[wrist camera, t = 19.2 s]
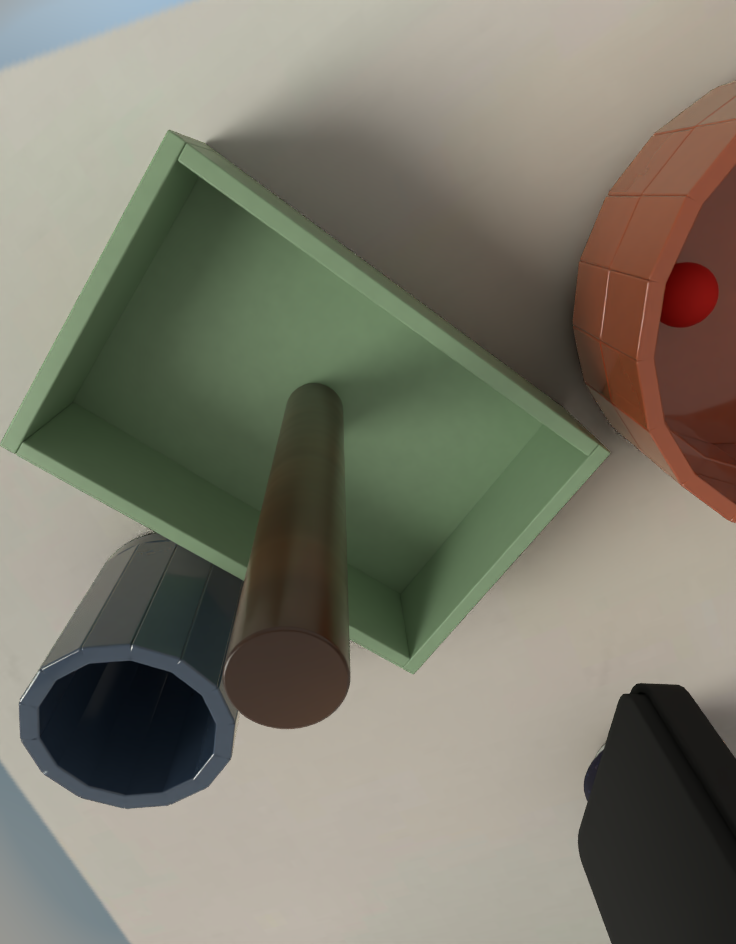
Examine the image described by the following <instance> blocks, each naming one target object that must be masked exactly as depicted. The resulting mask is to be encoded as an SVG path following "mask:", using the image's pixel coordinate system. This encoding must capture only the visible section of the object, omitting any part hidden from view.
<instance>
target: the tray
mask: <svg viewBox="0 0 736 944" xmlns="http://www.w3.org/2000/svg"><path fill="white" fill-rule="evenodd" d="M309 383H319V384H323V385H326V386H328V387H330V388H331V389H333V390H334V391H335V392H336V393H337V395H338V396H339V397H340V399H341V402H342V405H343V421H344V458H345V495H346V532H347V570H348V607H349V639H350V640H352V641H354V642H355V643H357V644H359V645H361V646H363V647H364V648H366V649H368V650H370V651H372V652H373V653H375V654H377V655H379V656H381V657H382V658H384V659H386V660H388V661H390V662H391V663H393V664H395V665H397V666H399V667H401V668H403V669H404V670H406V671H408V672H410V673H411V674H415V672H416V671H417V670H418V669H419V668H420V667H421V666H422V665H423V663H424V662H425V661H426V660H427V659H428V658H429V657H430V656H431V654H432V653H433V652H434V651H435V650H436V649H437V648H438V647H439V645H440V644H441V643H442V642H443V641H444V640H445V639H446V638H447V636H448V635H449V634H450V633H451V632H452V631H453V630H454V629H455V628H456V626H457V625H458V624H459V623H460V622H461V621H462V620H463V619H464V617H465V616H466V615H467V614H468V613H469V612H470V611H471V610H472V608H473V607H474V606H475V605H476V604H477V603H478V602H479V601H480V599H481V598H482V597H483V596H484V595H485V594H486V593H487V592H488V590H489V589H490V588H491V587H492V586H493V585H494V584H495V583H496V582H497V580H498V579H499V578H500V577H501V576H502V575H503V574H504V573H505V571H506V570H507V569H508V568H509V567H510V566H511V565H512V564H513V562H514V561H515V560H516V559H517V558H518V557H519V556H520V555H521V553H522V552H523V551H524V550H525V549H526V548H527V547H528V546H529V544H530V543H531V542H532V541H533V540H534V539H535V538H536V537H537V535H538V534H539V533H540V532H541V531H542V530H543V529H544V528H545V527H546V525H547V524H548V523H549V522H550V521H551V520H552V519H553V518H554V516H555V515H556V514H557V513H558V512H559V511H560V510H561V509H562V507H563V506H564V505H565V504H566V503H567V502H568V501H569V500H570V498H571V497H572V496H573V495H574V494H575V493H576V492H577V491H578V489H579V488H580V487H581V486H582V485H583V484H584V483H585V482H586V480H587V479H588V478H589V477H590V476H591V475H592V474H593V473H594V472H595V470H596V469H597V468H598V467H599V466H600V465H601V464H602V463H603V461H604V460H605V459H606V458H607V457H608V456H609V455H610V451H609V450H608V449H607V448H606V447H605V446H604V445H603V444H601V443H600V442H599V441H598V440H597V439H596V438H595V437H594V436H593V435H592V434H591V433H590V432H589V431H588V430H587V429H586V428H585V427H584V426H582V425H581V424H580V423H579V422H578V421H577V420H576V419H575V418H574V417H573V416H572V415H571V414H570V413H569V412H567V410H566V409H565V408H563V407H562V406H561V405H559V404H558V403H557V402H555V401H554V400H552V399H551V398H550V397H548V396H547V395H546V394H544V393H543V392H542V391H540V390H539V389H538V388H536V387H535V386H533V385H532V384H531V383H529V382H528V381H527V380H525V379H524V378H523V377H521V376H520V375H519V374H517V373H516V372H514V371H513V370H512V369H510V368H509V367H508V366H506V365H505V364H504V363H502V362H501V361H500V360H498V359H497V358H495V357H494V356H493V355H491V354H490V353H489V352H487V351H486V350H485V349H483V348H482V347H480V346H479V345H478V344H476V343H475V342H474V341H472V340H471V339H470V338H468V337H467V336H466V335H464V334H463V333H461V332H460V331H459V330H457V329H456V328H455V327H453V326H452V325H451V324H449V323H448V322H447V321H445V320H444V319H442V318H441V317H440V316H438V315H437V314H436V313H434V312H433V311H432V310H430V309H429V308H428V307H426V306H425V305H423V304H422V303H421V302H419V301H418V300H417V299H415V298H414V297H413V296H411V295H410V294H409V293H407V292H406V291H404V290H403V289H402V288H400V287H399V286H398V285H396V284H395V283H394V282H392V281H391V280H390V279H388V278H387V277H385V276H384V275H383V274H381V273H380V272H379V271H377V270H376V269H375V268H373V267H372V266H371V265H369V264H368V263H366V262H365V261H364V260H362V259H361V258H360V257H358V256H357V255H356V254H354V253H353V252H352V251H350V250H349V249H347V248H346V247H345V246H343V245H342V244H341V243H339V242H338V241H337V240H335V239H334V238H333V237H331V236H330V235H328V234H327V233H326V232H324V231H323V230H322V229H320V228H319V227H318V226H316V225H315V224H314V223H312V222H311V221H309V220H308V219H307V218H305V217H304V216H303V215H301V214H300V213H299V212H297V211H296V210H295V209H293V208H292V207H290V206H289V205H288V204H286V203H285V202H284V201H282V200H281V199H280V198H278V197H277V196H276V195H274V194H273V193H271V192H270V191H269V190H267V189H266V188H265V187H263V186H262V185H261V184H259V183H258V182H257V181H255V180H254V179H252V178H251V177H250V176H248V175H247V174H246V173H244V172H243V171H242V170H240V169H239V168H238V167H236V166H235V165H233V164H232V163H231V162H229V161H228V160H227V159H225V158H224V157H223V156H221V155H220V154H219V153H217V152H216V151H214V150H213V149H212V148H210V147H209V146H208V145H206V144H205V143H203V142H200V141H198V140H195V139H192V138H190V137H187V136H185V135H182V134H179V133H177V132H174V131H171V130H168V131H167V133H166V135H165V137H164V139H163V141H162V142H161V144H160V146H159V148H158V150H157V152H156V154H155V156H154V157H153V159H152V161H151V163H150V165H149V167H148V169H147V170H146V172H145V174H144V176H143V178H142V180H141V182H140V184H139V185H138V187H137V189H136V191H135V193H134V195H133V197H132V198H131V200H130V202H129V204H128V206H127V208H126V210H125V212H124V213H123V215H122V217H121V219H120V221H119V223H118V225H117V226H116V228H115V230H114V232H113V234H112V236H111V238H110V240H109V241H108V243H107V245H106V247H105V249H104V251H103V253H102V254H101V256H100V258H99V260H98V262H97V264H96V266H95V268H94V269H93V271H92V273H91V275H90V277H89V279H88V281H87V282H86V284H85V286H84V288H83V290H82V292H81V294H80V296H79V297H78V299H77V301H76V303H75V305H74V307H73V309H72V310H71V312H70V314H69V316H68V318H67V320H66V322H65V324H64V325H63V327H62V329H61V331H60V333H59V335H58V337H57V338H56V340H55V342H54V344H53V346H52V348H51V350H50V352H49V353H48V355H47V357H46V359H45V361H44V363H43V365H42V366H41V368H40V370H39V372H38V374H37V376H36V378H35V380H34V381H33V383H32V385H31V387H30V389H29V391H28V393H27V394H26V396H25V398H24V400H23V402H22V404H21V406H20V408H19V409H18V411H17V413H16V415H15V417H14V419H13V421H12V422H11V424H10V426H9V428H8V430H7V432H6V434H5V436H4V437H3V439H2V441H1V443H0V446H1V447H3V448H5V449H7V450H8V451H10V452H12V453H14V454H16V455H17V456H19V457H21V458H23V459H25V460H26V461H28V462H30V463H32V464H34V465H35V466H37V467H39V468H41V469H43V470H44V471H46V472H48V473H50V474H52V475H53V476H55V477H57V478H59V479H61V480H62V481H64V482H66V483H68V484H70V485H72V486H73V487H75V488H77V489H79V490H81V491H82V492H84V493H86V494H88V495H90V496H91V497H93V498H95V499H97V500H99V501H100V502H102V503H104V504H106V505H108V506H109V507H111V508H113V509H115V510H117V511H119V512H120V513H122V514H124V515H126V516H128V517H129V518H131V519H133V520H135V521H137V522H138V523H140V524H142V525H144V526H146V527H147V528H149V529H151V530H153V531H155V532H156V533H158V534H160V535H162V536H164V537H166V538H167V539H169V540H171V541H173V542H175V543H176V544H178V545H180V546H182V547H184V548H185V549H187V550H189V551H191V552H193V553H194V554H196V555H198V556H200V557H202V558H203V559H205V560H207V561H209V562H211V563H213V564H214V565H216V566H218V567H220V568H222V569H223V570H225V571H227V572H229V573H231V574H232V575H234V576H236V577H238V578H240V579H241V580H243V581H244V579H245V575H246V571H247V567H248V562H249V558H250V554H251V550H252V546H253V542H254V538H255V533H256V529H257V525H258V521H259V517H260V513H261V508H262V504H263V500H264V496H265V492H266V488H267V483H268V479H269V475H270V471H271V467H272V463H273V459H274V454H275V450H276V446H277V442H278V438H279V434H280V429H281V425H282V421H283V417H284V413H285V409H286V405H287V401H288V399H289V397H290V395H291V394H292V393H293V392H294V391H295V390H296V389H297V388H299V387H300V386H302V385H305V384H309Z"/></svg>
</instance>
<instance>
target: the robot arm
mask: <svg viewBox="0 0 736 944" xmlns="http://www.w3.org/2000/svg"><path fill="white" fill-rule="evenodd" d="M578 847H579V854H580V858H581V862H582V865H583V867H584V870H585V873H586V875H587V878H588V881H589V884H590V886H591V889H592V892H593V894H594V897H595V900H596V903H597V905H598V908H599V911H600V913H601V916H602V919H603V922H604V924H605V927H606V930H607V932H608V935H609V938H610V941H611V943H612V944H736V759H735V757H734V756H733V754H732V753H731V752H730V750H729V749H728V747H727V746H726V744H725V743H724V742H723V740H722V739H721V737H720V736H719V735H718V733H717V732H716V730H715V729H714V727H713V726H712V725H711V723H710V722H709V720H708V719H707V718H706V716H705V715H704V713H703V712H702V711H701V709H700V708H699V706H698V705H697V703H696V702H695V701H694V699H693V698H692V696H691V695H690V694H689V692H688V691H687V690H686V689H685V688H684V687H682V686H680V685H669V684H646V683H640V684H636V685H635V686H634V687H633V688H632V690H631V692H630V694H623V695H622V696H621V697H620V699H619V701H618V704H617V708H616V711H615V714H614V718H613V721H612V724H611V727H610V731H609V734H608V737H607V741H606V744H605V747H604V750H603V754H602V757H601V760H600V763H599V767H598V770H597V773H596V777H595V780H594V783H593V786H592V790H591V793H590V796H589V799H588V803H587V806H586V809H585V813H584V816H583V819H582V822H581V826H580V829H579V834H578Z"/></svg>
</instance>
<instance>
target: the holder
mask: <svg viewBox="0 0 736 944" xmlns="http://www.w3.org/2000/svg"><path fill="white" fill-rule="evenodd" d="M243 583H244V581H243V580H241V579H240V578H238V577H236V576H234V575H232V574H231V573H229V572H227V571H225V570H223V569H222V568H220V567H218V566H216V565H214V564H213V563H211V562H209V561H207V560H205V559H203V558H202V557H200V556H198V555H196V554H194V553H193V552H191V551H189V550H187V549H185V548H184V547H182V546H180V545H178V544H176V543H175V542H173V541H171V540H169V539H167V538H166V537H164V536H162V535H160V534H158V533H154V534H150V535H146V536H143V537H140V538H137V539H135V540H133V541H131V542H129V543H127V544H125V545H124V546H122V547H121V548H120V549H118V550H117V551H116V552H115V553H114V554H113V555H112V556H111V557H110V558H109V559H108V561H107V562H106V563H105V565H104V566H103V568H102V569H101V571H100V573H99V574H98V576H97V577H96V579H95V580H94V582H93V584H92V585H91V587H90V588H89V590H88V591H87V593H86V595H85V596H84V598H83V599H82V601H81V603H80V604H79V606H78V607H77V609H76V611H75V612H74V614H73V615H72V617H71V619H70V620H69V622H68V623H67V625H66V627H65V628H64V630H63V631H62V633H61V635H60V636H59V638H58V639H57V641H56V642H55V644H54V646H53V647H52V649H51V650H50V652H49V654H48V655H47V657H46V658H45V660H44V662H43V663H42V665H41V666H40V668H39V670H38V671H37V673H36V674H35V676H34V678H33V679H32V681H31V682H30V684H29V686H28V687H27V689H26V690H25V692H24V693H23V695H22V697H21V698H20V702H19V721H20V738H21V742H22V743H23V745H24V746H25V748H26V749H27V751H28V752H29V754H30V755H31V757H32V758H33V760H34V761H35V763H36V764H37V766H38V767H39V769H40V770H41V772H42V773H43V774H44V775H46V776H47V777H49V778H50V779H52V780H53V781H55V782H56V783H58V784H59V785H61V786H63V787H64V788H66V789H67V790H69V791H70V792H72V793H73V794H75V795H76V796H78V797H80V796H81V798H83V799H87V800H91V801H95V802H99V803H103V804H107V805H112V806H116V807H120V808H125V809H130V808H143V807H156V806H168V805H170V804H173V803H176V802H178V801H180V800H182V799H184V798H186V797H189V796H191V795H193V794H195V793H197V792H199V791H202V790H204V789H206V788H207V787H209V785H210V784H211V783H212V782H213V781H214V779H215V778H216V777H217V776H218V774H219V773H220V772H221V771H222V770H223V768H224V767H225V766H226V765H227V763H228V762H229V761H230V760H231V757H232V753H233V748H234V742H235V737H236V732H237V726H238V721H239V716H240V712H239V711H238V710H237V709H236V708H235V707H234V706H233V705H232V703H231V702H230V700H229V699H228V697H227V694H226V692H225V690H224V686H223V680H222V673H223V666H224V662H225V658H226V654H227V650H228V646H229V641H230V637H231V633H232V629H233V625H234V621H235V617H236V612H237V608H238V604H239V600H240V596H241V592H242V587H243Z"/></svg>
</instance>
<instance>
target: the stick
mask: <svg viewBox="0 0 736 944" xmlns="http://www.w3.org/2000/svg"><path fill="white" fill-rule="evenodd" d="M222 680H223V686H224V690H225V692H226V694H227V697H228V699H229V700H230V702H231V703H232V705H233V706H234V707H235V708H236V709H237V710H238V711H239V712H240V713H241V714H242V715H244V716H245V717H246V718H248V719H250V720H252V721H253V722H256V723H258V724H261V725H264V726H267V727H272V728H278V729H295V728H302V727H307V726H310V725H313V724H316V723H318V722H320V721H322V720H324V719H325V718H327V717H328V716H330V715H331V714H332V713H333V712H334V711H335V710H336V709H337V708H338V707H339V706H340V705H341V703H342V702H343V700H344V699H345V697H346V695H347V692H348V689H349V685H350V644H349V607H348V570H347V532H346V495H345V458H344V421H343V405H342V402H341V399H340V397H339V396H338V395H337V393H336V392H335V391H334V390H333V389H331V388H330V387H328V386H326V385H323V384H319V383H309V384H305V385H302V386H300V387H299V388H297V389H296V390H295V391H294V392H293V393H292V394H291V395H290V397H289V399H288V401H287V405H286V409H285V413H284V417H283V421H282V425H281V429H280V434H279V438H278V442H277V446H276V450H275V454H274V459H273V463H272V467H271V471H270V475H269V479H268V483H267V488H266V492H265V496H264V500H263V504H262V508H261V513H260V517H259V521H258V525H257V529H256V533H255V538H254V542H253V546H252V550H251V554H250V558H249V562H248V567H247V571H246V575H245V579H244V583H243V587H242V592H241V596H240V600H239V604H238V608H237V612H236V617H235V621H234V625H233V629H232V633H231V637H230V641H229V646H228V650H227V654H226V658H225V662H224V666H223V673H222Z"/></svg>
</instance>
